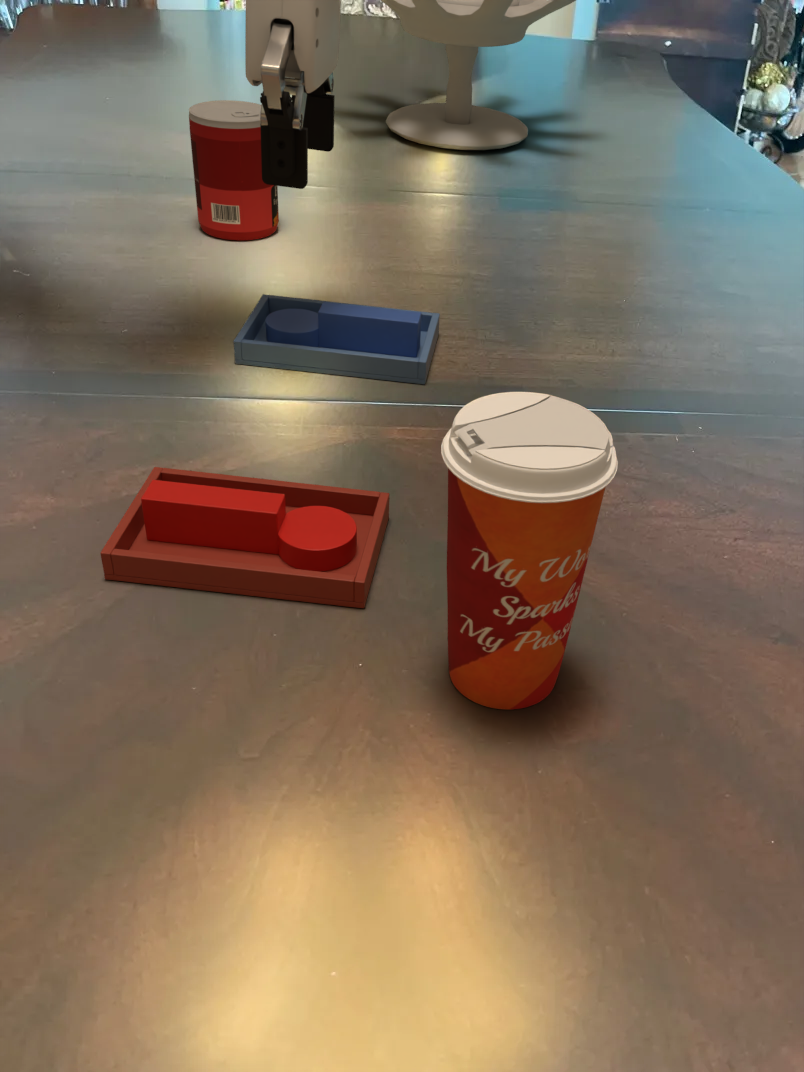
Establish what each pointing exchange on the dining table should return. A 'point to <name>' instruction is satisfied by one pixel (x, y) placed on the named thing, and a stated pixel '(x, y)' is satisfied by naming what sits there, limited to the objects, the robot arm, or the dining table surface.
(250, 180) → the canned food
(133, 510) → the red tray
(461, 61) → the beige pedestal fruit bowl
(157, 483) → the red spoon
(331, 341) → the blue spoon
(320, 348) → the blue tray
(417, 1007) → the dining table surface
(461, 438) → the coffee cup
